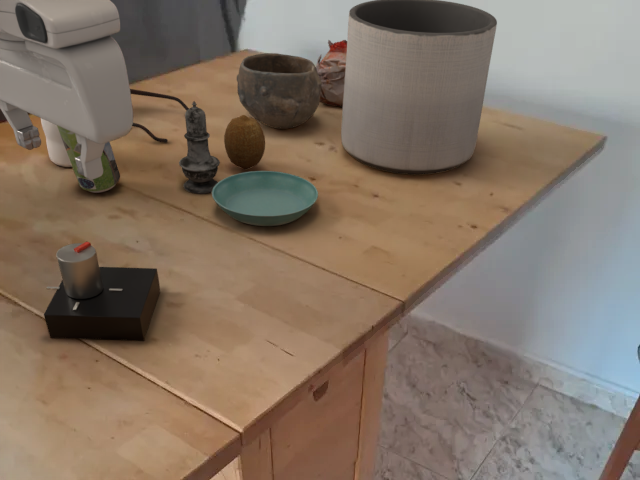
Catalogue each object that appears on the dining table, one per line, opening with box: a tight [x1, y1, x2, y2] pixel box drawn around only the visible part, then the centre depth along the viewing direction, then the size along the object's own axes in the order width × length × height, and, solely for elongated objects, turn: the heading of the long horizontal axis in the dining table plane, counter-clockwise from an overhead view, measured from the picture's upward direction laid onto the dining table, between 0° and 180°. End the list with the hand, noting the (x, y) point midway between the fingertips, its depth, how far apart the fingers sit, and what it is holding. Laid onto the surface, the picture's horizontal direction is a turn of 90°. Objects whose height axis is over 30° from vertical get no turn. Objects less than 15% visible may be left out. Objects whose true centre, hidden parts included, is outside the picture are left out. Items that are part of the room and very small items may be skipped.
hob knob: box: [55, 241, 103, 299], centre depth 73 cm, size 4×4×5 cm
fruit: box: [223, 114, 266, 170], centre depth 104 cm, size 6×6×8 cm
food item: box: [315, 39, 347, 108], centre depth 130 cm, size 14×8×10 cm, turn 169°
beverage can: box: [57, 126, 121, 194], centre depth 96 cm, size 6×7×12 cm
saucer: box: [211, 170, 319, 227], centre depth 96 cm, size 15×15×3 cm
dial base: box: [43, 266, 161, 342], centre depth 76 cm, size 11×10×3 cm
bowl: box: [236, 52, 322, 130], centre depth 118 cm, size 14×15×10 cm
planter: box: [340, 0, 498, 176], centre depth 107 cm, size 22×22×20 cm
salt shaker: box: [178, 100, 221, 195], centre depth 98 cm, size 6×6×12 cm
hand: (60, 160), depth 66 cm, fingers open, 8 cm apart
